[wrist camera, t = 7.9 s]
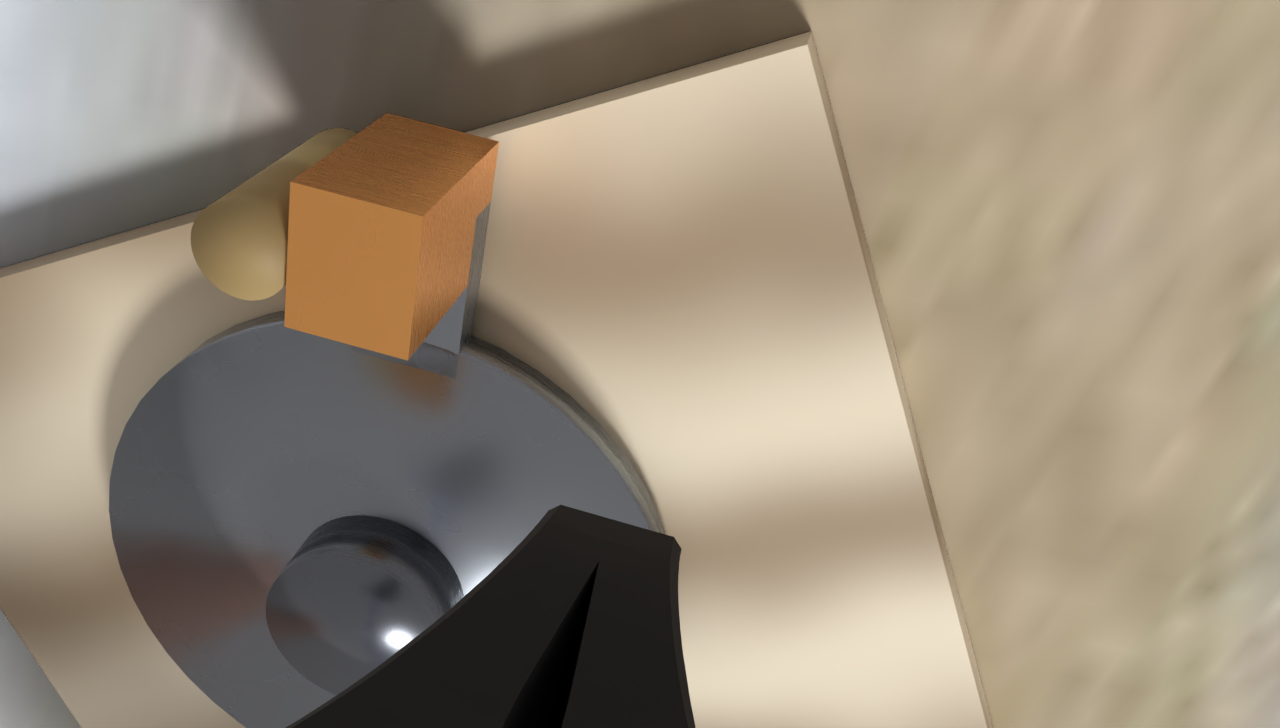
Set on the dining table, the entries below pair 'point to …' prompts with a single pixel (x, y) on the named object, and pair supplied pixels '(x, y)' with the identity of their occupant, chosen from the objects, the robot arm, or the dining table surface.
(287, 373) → the flange plate
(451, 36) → the dining table surface
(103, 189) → the dining table surface
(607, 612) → the robot arm
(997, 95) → the dining table surface
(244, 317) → the board
